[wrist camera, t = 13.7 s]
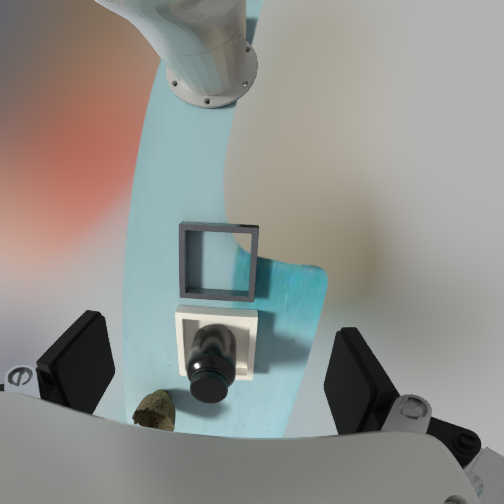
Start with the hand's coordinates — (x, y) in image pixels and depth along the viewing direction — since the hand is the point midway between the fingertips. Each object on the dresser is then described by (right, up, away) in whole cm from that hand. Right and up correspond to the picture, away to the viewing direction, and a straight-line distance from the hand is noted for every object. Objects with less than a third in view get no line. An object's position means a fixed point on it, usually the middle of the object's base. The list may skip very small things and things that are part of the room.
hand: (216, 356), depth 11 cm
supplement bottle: (-4, -10, +34) cm, 36 cm away
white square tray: (-4, -10, +34) cm, 36 cm away
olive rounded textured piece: (-16, -23, +38) cm, 47 cm away
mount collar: (-3, +3, +31) cm, 31 cm away
